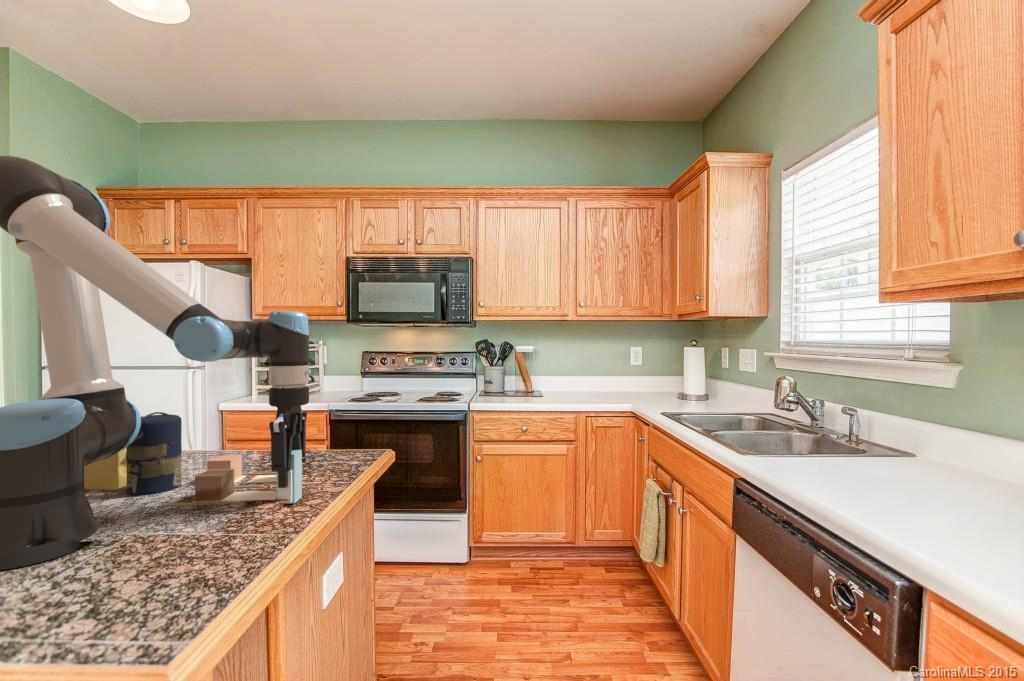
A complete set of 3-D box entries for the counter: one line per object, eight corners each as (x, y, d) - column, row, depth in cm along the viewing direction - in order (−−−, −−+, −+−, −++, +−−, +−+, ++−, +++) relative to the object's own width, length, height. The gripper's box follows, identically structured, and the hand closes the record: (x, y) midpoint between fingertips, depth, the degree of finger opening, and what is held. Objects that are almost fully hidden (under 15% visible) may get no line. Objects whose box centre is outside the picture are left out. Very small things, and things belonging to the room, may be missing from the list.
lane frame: (237, 510, 90) (237, 502, 90) (162, 513, 89) (162, 504, 89) (282, 478, 111) (282, 471, 111) (222, 480, 110) (222, 473, 110)
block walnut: (221, 500, 92) (221, 475, 92) (195, 501, 91) (194, 476, 91) (234, 492, 97) (234, 468, 97) (209, 493, 96) (209, 469, 96)
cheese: (159, 477, 113) (158, 437, 113) (117, 492, 102) (116, 447, 102) (120, 476, 114) (120, 436, 114) (74, 490, 103) (74, 446, 103)
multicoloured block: (293, 504, 93) (292, 455, 93) (191, 507, 91) (191, 457, 91) (303, 495, 98) (303, 448, 98) (207, 498, 97) (207, 451, 97)
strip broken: (294, 486, 104) (294, 442, 104) (204, 489, 103) (204, 444, 103) (303, 479, 110) (303, 437, 110) (218, 481, 108) (218, 439, 108)
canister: (117, 497, 98) (117, 413, 98) (167, 485, 106) (167, 407, 106) (140, 505, 93) (139, 417, 93) (190, 491, 102) (190, 410, 102)
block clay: (230, 482, 103) (230, 460, 103) (207, 483, 103) (207, 461, 103) (241, 476, 108) (241, 454, 108) (219, 476, 108) (219, 455, 108)
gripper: (291, 390, 87) (291, 513, 87) (321, 382, 104) (322, 485, 104) (250, 390, 86) (250, 514, 86) (287, 382, 103) (287, 485, 103)
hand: (289, 498), depth 95 cm, fingers closed on multicoloured block, 4 cm apart
